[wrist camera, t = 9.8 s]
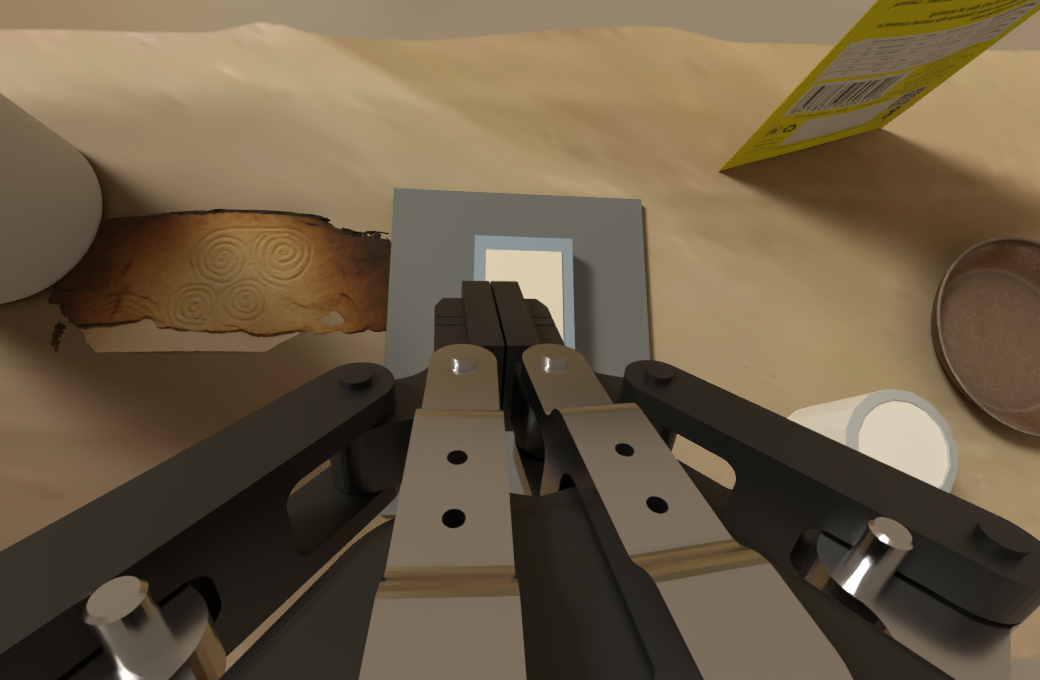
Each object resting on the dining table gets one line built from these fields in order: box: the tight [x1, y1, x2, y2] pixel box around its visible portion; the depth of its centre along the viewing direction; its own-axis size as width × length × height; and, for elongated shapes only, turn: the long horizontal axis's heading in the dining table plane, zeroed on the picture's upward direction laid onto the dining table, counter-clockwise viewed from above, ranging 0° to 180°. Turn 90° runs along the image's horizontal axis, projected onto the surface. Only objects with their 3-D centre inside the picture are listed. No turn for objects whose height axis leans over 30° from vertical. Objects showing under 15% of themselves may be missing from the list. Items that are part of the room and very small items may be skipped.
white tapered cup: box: [787, 389, 958, 493], centre depth 30 cm, size 7×7×7 cm
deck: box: [474, 235, 575, 350], centre depth 32 cm, size 6×2×10 cm
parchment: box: [48, 209, 391, 352], centre depth 32 cm, size 25×10×1 cm, turn 90°
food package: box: [719, 0, 1040, 171], centre depth 28 cm, size 15×1×20 cm, turn 108°
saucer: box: [931, 237, 1040, 436], centre depth 35 cm, size 15×15×3 cm
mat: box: [378, 188, 650, 515], centre depth 33 cm, size 18×22×1 cm
